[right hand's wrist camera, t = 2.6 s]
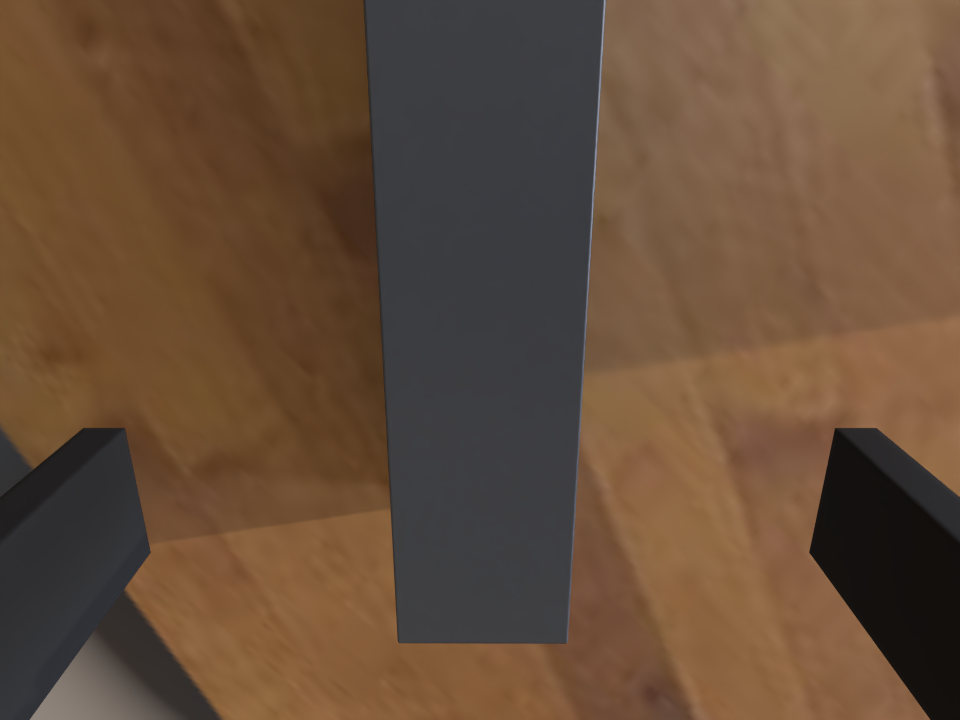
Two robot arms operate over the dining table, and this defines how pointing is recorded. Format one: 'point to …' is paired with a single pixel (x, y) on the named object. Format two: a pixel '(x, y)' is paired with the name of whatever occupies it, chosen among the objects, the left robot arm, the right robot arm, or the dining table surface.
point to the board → (483, 302)
